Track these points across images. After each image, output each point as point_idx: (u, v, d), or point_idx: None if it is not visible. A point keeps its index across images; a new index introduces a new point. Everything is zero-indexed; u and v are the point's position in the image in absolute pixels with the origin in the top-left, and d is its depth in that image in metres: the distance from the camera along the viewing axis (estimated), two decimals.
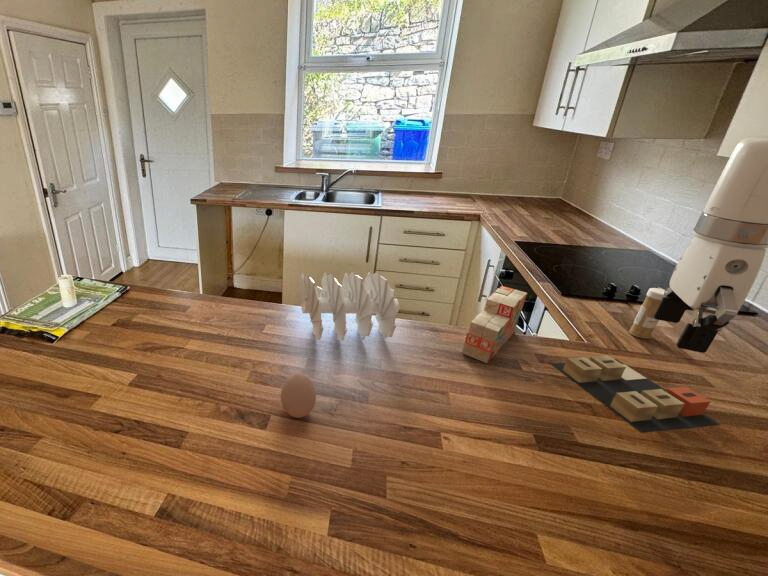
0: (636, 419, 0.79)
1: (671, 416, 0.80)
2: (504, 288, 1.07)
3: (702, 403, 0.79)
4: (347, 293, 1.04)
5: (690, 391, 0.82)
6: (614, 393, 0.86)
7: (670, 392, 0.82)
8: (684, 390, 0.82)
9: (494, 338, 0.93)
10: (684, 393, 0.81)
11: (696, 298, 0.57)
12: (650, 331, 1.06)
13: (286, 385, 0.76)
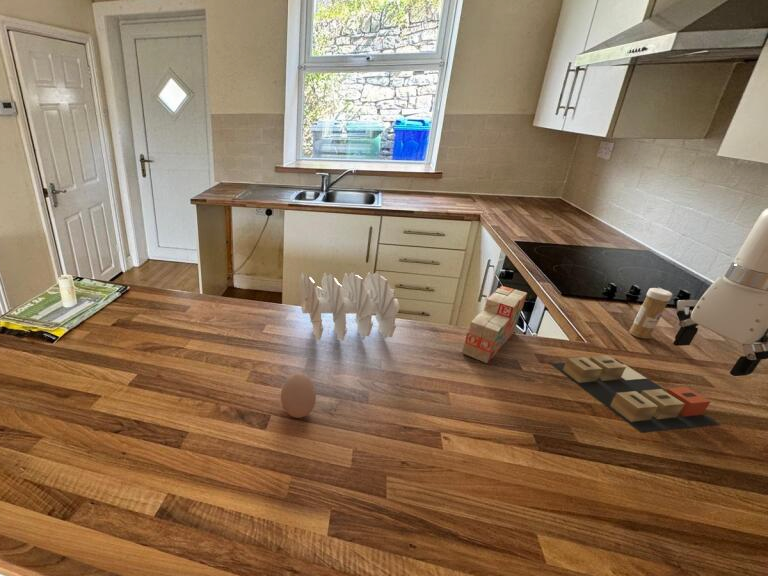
0: (636, 419, 0.79)
1: (671, 416, 0.80)
2: (504, 288, 1.07)
3: (702, 403, 0.79)
4: (347, 293, 1.04)
5: (690, 391, 0.82)
6: (614, 393, 0.86)
7: (670, 392, 0.82)
8: (684, 390, 0.82)
9: (494, 338, 0.93)
10: (684, 393, 0.81)
11: (750, 337, 0.69)
12: (650, 331, 1.06)
13: (286, 385, 0.76)
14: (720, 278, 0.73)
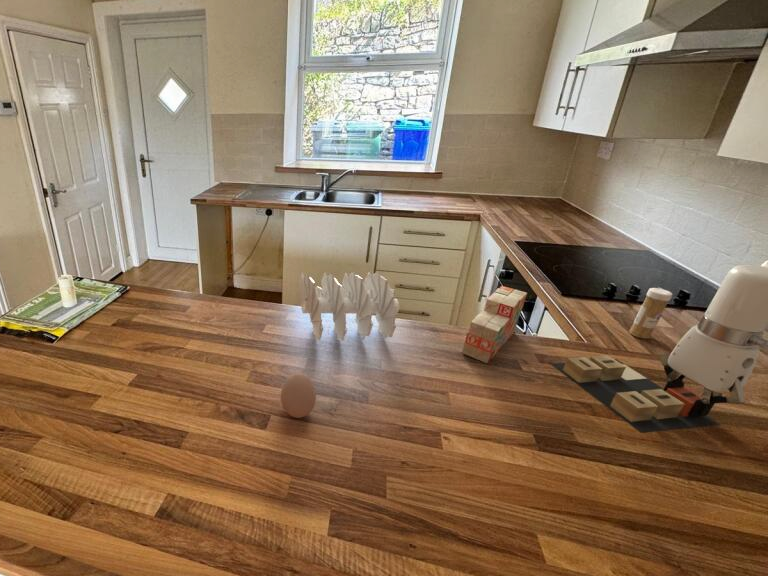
0: (636, 419, 0.79)
1: (671, 416, 0.80)
2: (504, 288, 1.07)
3: None
4: (347, 293, 1.04)
5: (690, 391, 0.82)
6: (614, 393, 0.86)
7: (670, 392, 0.82)
8: (684, 390, 0.82)
9: (494, 338, 0.93)
10: (684, 393, 0.81)
11: (721, 386, 0.74)
12: (650, 331, 1.06)
13: (286, 385, 0.76)
14: (693, 328, 0.78)
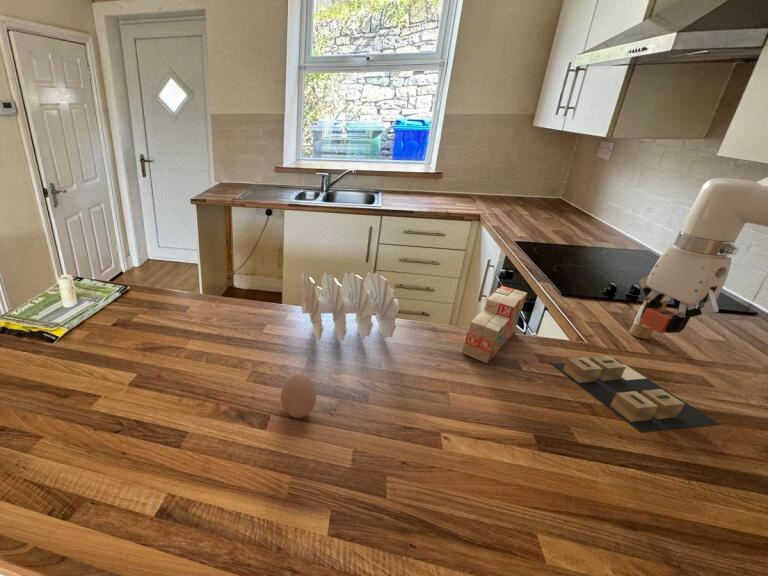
0: (636, 419, 0.79)
1: (671, 416, 0.80)
2: (504, 288, 1.07)
3: None
4: (347, 293, 1.04)
5: (667, 310, 0.85)
6: (614, 393, 0.86)
7: (648, 311, 0.85)
8: (662, 309, 0.85)
9: (494, 338, 0.93)
10: (662, 311, 0.84)
11: (695, 297, 0.77)
12: (650, 331, 1.06)
13: (286, 385, 0.76)
14: (670, 246, 0.81)
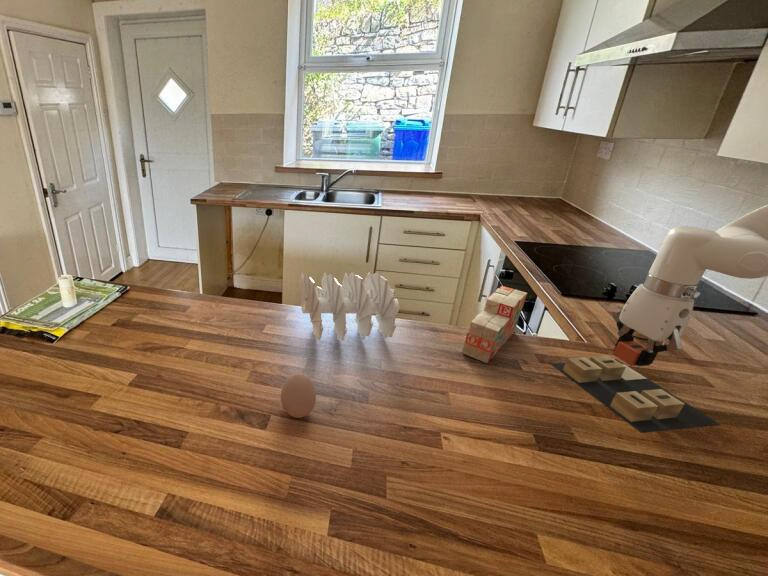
0: (636, 419, 0.79)
1: (671, 416, 0.80)
2: (504, 288, 1.07)
3: None
4: (347, 293, 1.04)
5: (638, 344, 0.91)
6: (614, 393, 0.86)
7: (620, 344, 0.91)
8: (633, 343, 0.91)
9: (494, 338, 0.93)
10: (633, 345, 0.90)
11: (661, 335, 0.83)
12: None
13: (286, 385, 0.76)
14: (640, 286, 0.87)
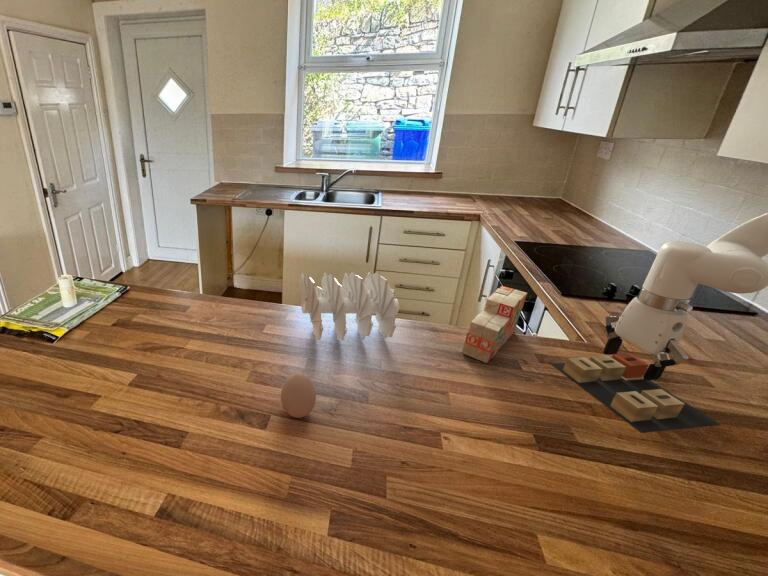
0: (636, 419, 0.79)
1: (671, 416, 0.80)
2: (504, 288, 1.07)
3: (641, 366, 0.90)
4: (347, 293, 1.04)
5: (632, 356, 0.93)
6: (614, 393, 0.86)
7: (615, 357, 0.93)
8: (627, 356, 0.93)
9: (494, 338, 0.93)
10: (627, 358, 0.92)
11: (656, 348, 0.85)
12: None
13: (286, 385, 0.76)
14: (634, 299, 0.89)
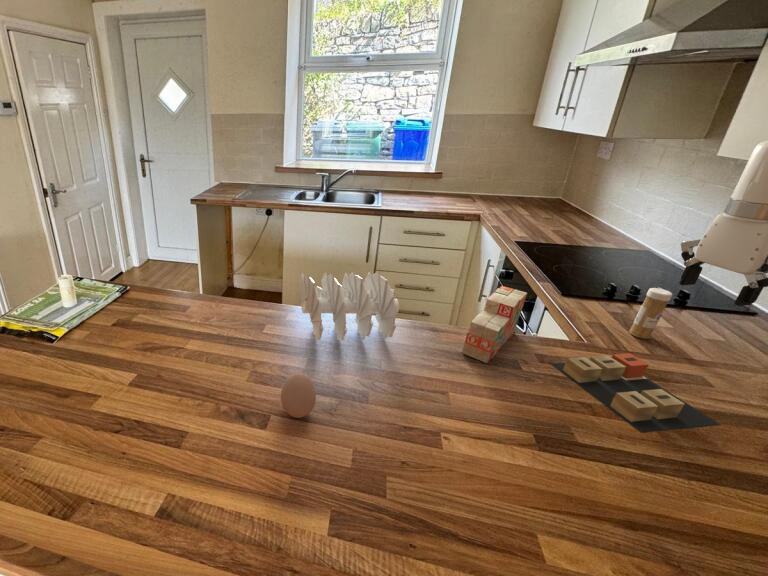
0: (636, 419, 0.79)
1: (671, 416, 0.80)
2: (504, 288, 1.07)
3: (641, 366, 0.90)
4: (347, 293, 1.04)
5: (632, 356, 0.93)
6: (614, 393, 0.86)
7: (615, 357, 0.93)
8: (627, 356, 0.93)
9: (494, 338, 0.93)
10: (627, 358, 0.92)
11: (751, 266, 0.74)
12: (650, 331, 1.06)
13: (286, 385, 0.76)
14: (720, 215, 0.78)
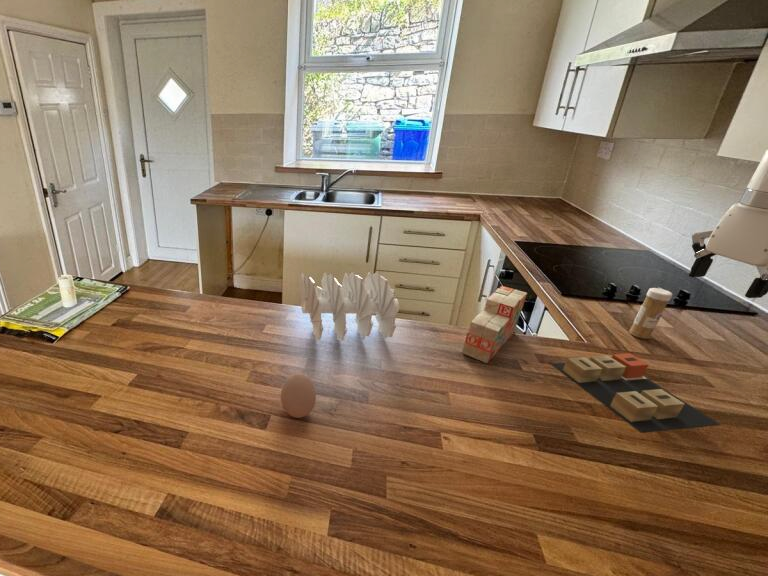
0: (636, 419, 0.79)
1: (671, 416, 0.80)
2: (504, 288, 1.07)
3: (641, 366, 0.90)
4: (347, 293, 1.04)
5: (632, 356, 0.93)
6: (614, 393, 0.86)
7: (615, 357, 0.93)
8: (627, 356, 0.93)
9: (494, 338, 0.93)
10: (627, 358, 0.92)
11: (765, 258, 0.73)
12: (650, 331, 1.06)
13: (286, 385, 0.76)
14: (734, 205, 0.76)
